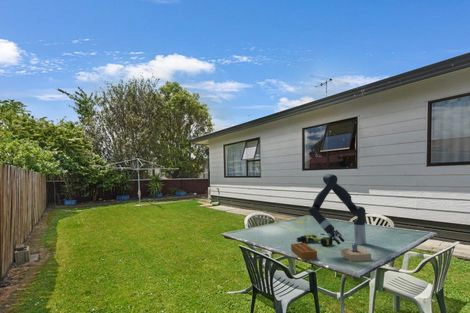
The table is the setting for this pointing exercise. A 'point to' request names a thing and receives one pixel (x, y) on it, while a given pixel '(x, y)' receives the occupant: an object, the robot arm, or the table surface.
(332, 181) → the robot arm
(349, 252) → the block
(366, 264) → the table surface
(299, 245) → the brick
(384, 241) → the table surface
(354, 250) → the chuck key
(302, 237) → the cordless drill
